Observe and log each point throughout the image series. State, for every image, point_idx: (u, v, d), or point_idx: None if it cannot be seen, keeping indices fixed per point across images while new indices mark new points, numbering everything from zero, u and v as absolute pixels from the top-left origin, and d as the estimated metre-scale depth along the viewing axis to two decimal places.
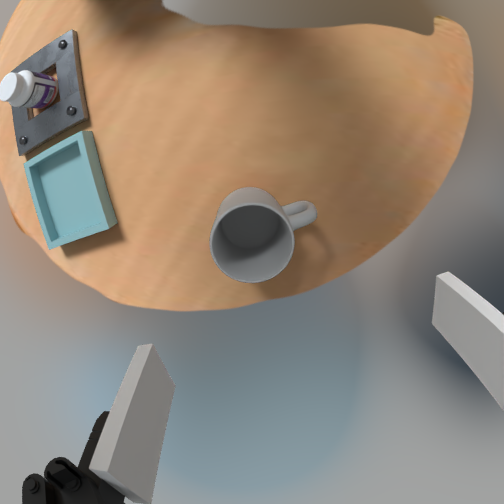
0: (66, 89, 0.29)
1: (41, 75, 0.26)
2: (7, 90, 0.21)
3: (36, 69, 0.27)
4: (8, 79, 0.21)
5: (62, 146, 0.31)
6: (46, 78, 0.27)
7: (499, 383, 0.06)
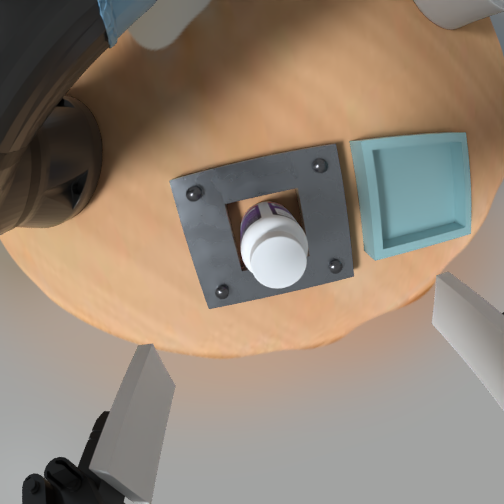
0: (281, 176, 0.26)
1: (252, 215, 0.24)
2: (287, 261, 0.20)
3: (223, 247, 0.28)
4: (264, 262, 0.20)
5: (374, 178, 0.25)
6: (256, 210, 0.25)
7: (499, 383, 0.06)
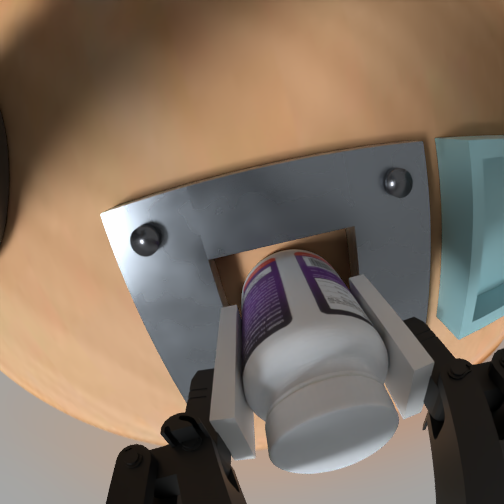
0: (325, 203, 0.13)
1: (268, 298, 0.11)
2: (357, 440, 0.07)
3: (210, 334, 0.15)
4: (302, 450, 0.07)
5: (482, 210, 0.11)
6: (276, 281, 0.12)
7: (396, 388, 0.08)
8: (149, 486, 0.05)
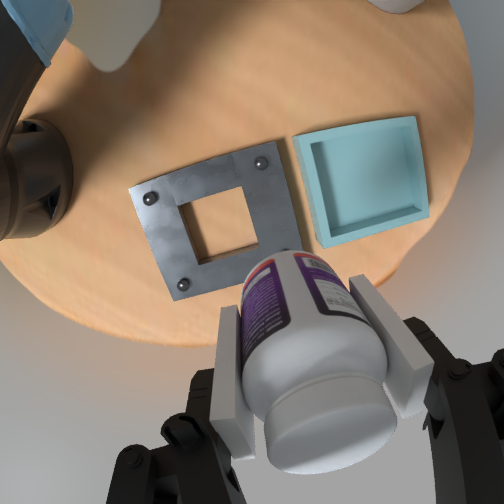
0: (226, 176, 0.28)
1: (267, 299, 0.11)
2: (355, 441, 0.07)
3: (180, 244, 0.31)
4: (300, 451, 0.07)
5: (314, 170, 0.27)
6: (275, 282, 0.12)
7: (396, 388, 0.08)
8: (149, 486, 0.05)
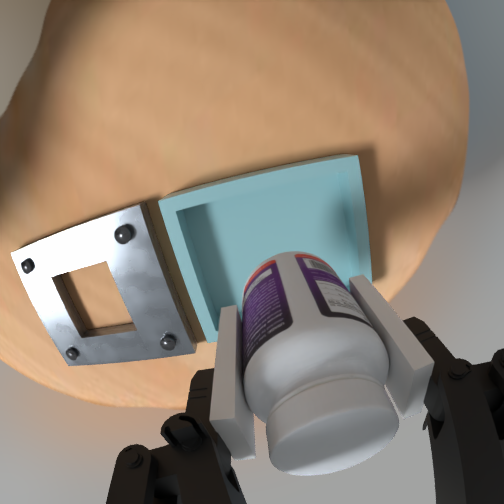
0: (89, 249, 0.21)
1: (269, 301, 0.11)
2: (357, 442, 0.07)
3: (60, 315, 0.23)
4: (302, 452, 0.07)
5: (184, 248, 0.20)
6: (276, 284, 0.12)
7: (396, 388, 0.08)
8: (149, 486, 0.05)
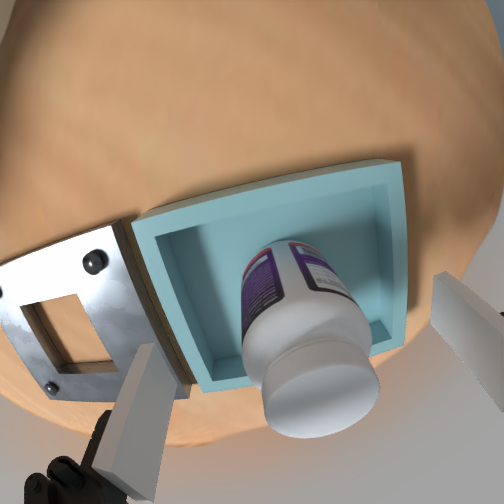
0: (56, 277, 0.16)
1: (264, 280, 0.13)
2: (342, 402, 0.08)
3: (34, 348, 0.18)
4: (293, 409, 0.08)
5: (167, 285, 0.15)
6: (271, 266, 0.13)
7: (497, 383, 0.06)
8: None
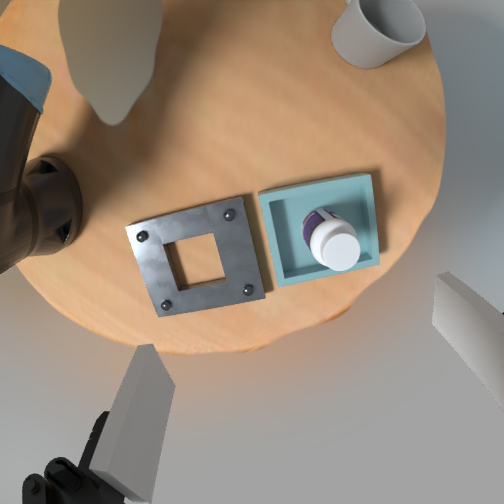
0: (201, 224, 0.36)
1: (316, 218, 0.32)
2: (348, 251, 0.28)
3: (164, 274, 0.38)
4: (332, 251, 0.28)
5: (271, 224, 0.34)
6: (318, 214, 0.33)
7: (499, 383, 0.06)
8: None
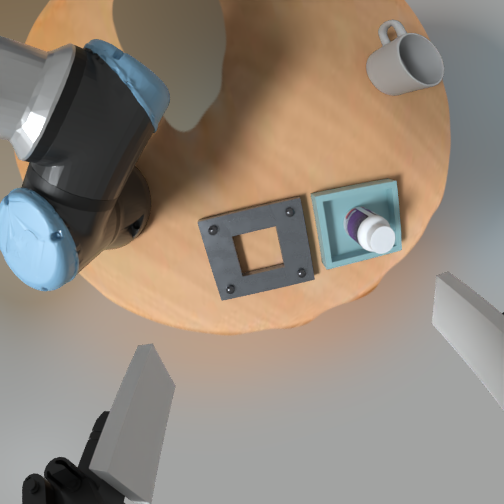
0: (266, 219, 0.44)
1: (359, 215, 0.40)
2: (387, 239, 0.36)
3: (231, 262, 0.46)
4: (376, 239, 0.36)
5: (324, 219, 0.43)
6: (359, 212, 0.41)
7: (499, 383, 0.06)
8: None
